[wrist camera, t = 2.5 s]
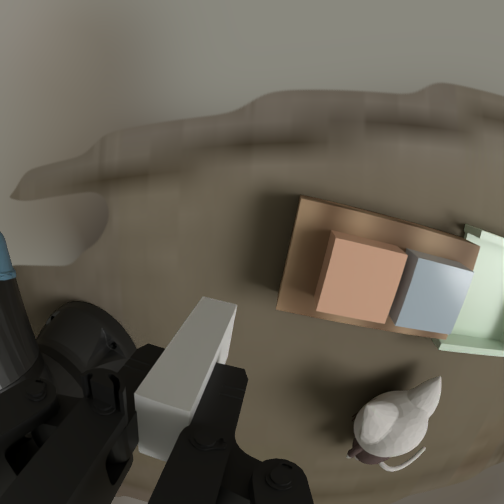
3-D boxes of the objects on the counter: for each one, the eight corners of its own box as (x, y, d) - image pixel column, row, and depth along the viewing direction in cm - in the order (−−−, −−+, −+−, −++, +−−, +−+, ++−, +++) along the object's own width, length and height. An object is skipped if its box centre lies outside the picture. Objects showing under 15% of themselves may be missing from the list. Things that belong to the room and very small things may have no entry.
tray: (427, 334, 31) (438, 349, 27) (465, 223, 27) (481, 230, 24) (498, 343, 30) (511, 357, 26) (534, 249, 26) (550, 257, 23)
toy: (395, 418, 39) (437, 352, 32) (421, 461, 32) (476, 401, 25) (318, 444, 36) (349, 380, 29) (341, 496, 29) (387, 448, 22)
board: (278, 292, 32) (275, 309, 28) (300, 194, 29) (301, 198, 25) (432, 322, 30) (445, 339, 26) (461, 237, 28) (480, 246, 24)
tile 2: (314, 296, 27) (315, 310, 24) (331, 230, 25) (335, 237, 23) (376, 308, 27) (384, 323, 24) (396, 245, 25) (408, 255, 22)
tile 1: (386, 310, 27) (395, 325, 24) (406, 248, 25) (418, 257, 22) (438, 320, 26) (450, 334, 23) (459, 262, 24) (474, 272, 22)
